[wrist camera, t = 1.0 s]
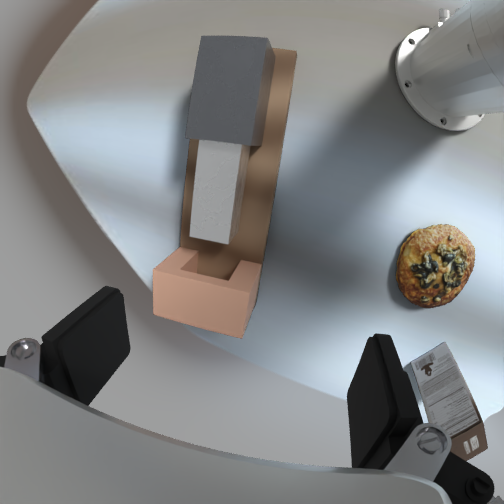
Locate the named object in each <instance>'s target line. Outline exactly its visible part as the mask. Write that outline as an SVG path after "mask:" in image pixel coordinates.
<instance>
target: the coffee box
mask: <svg viewBox="0 0 504 504" xmlns="http://www.w3.org/2000/svg"><path fill="white" fill-rule="evenodd" d="M411 365H412V368H413V371H414V374H415V377H416V380H417V384H418V387H419V390H420V393H421V397H422V400H423V403H424V407H425V411H426V414H427V418H428V422H429V423H432V424H436V425H439V426H441V427H442V428H444V429H445V430H446V431H447V432H448V434H449V435H450V438H451V443H452V446H451V449H450V451H451V452H452V453H454V454H455V455H457V456H458V457H460V458H462V459H463V460H465V461H467V460H469V459H471V458H473V457H474V456H476V455H477V454H479V453H481V452H483V451H485V450H486V449H487V448H488V446H487V440H486V435H485V429H484V424H483V421H482V418H481V416H480V414H479V411H478V409H477V406H476V404H475V402H474V399H473V397H472V395H471V393H470V390H469V388H468V386H467V384H466V382H465V380H464V377H463V375H462V373H461V371H460V369H459V367H458V365H457V363H456V361H455V359H454V357H453V355H452V353H451V351H450V349H449V348H448V346H447V344H446V342H444V343H442V344H440V345H439V346H437V347H436V348H434V349H432V350H431V351H429V352H427V353H426V354H424V355H422V356H421V357H419V358H417V359H415V360H414V361H412V362H411Z"/></svg>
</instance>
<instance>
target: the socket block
mask: <svg viewBox="0 0 504 504" xmlns="http://www.w3.org/2000/svg"><path fill="white" fill-rule="evenodd" d="M198 252H199V251H197V250H193V249H188V248H183V247H179V248H178V249H177V250H176V251H174V252H173V253H172V254H171V255H170V256H168V257H167V258H166V259H165V260H164V261H162V262H161V263H160V264H159V265H158V266H156V267H155V268H154V269H153V314H154V315H156V316H160V317H163V318H166V319H170V320H173V321H177V322H180V323H184V324H187V325H191V326H194V327H198V328H202V329H205V330H209V331H213V332H217V333H221V334H225V335H229V336H233V337H237V338H241V339H242V338H243V335H244V332H245V330H246V327H247V324H248V321H249V319H250V316H251V313H252V311H253V308H254V305H255V300H256V294H257V288H258V282H259V277H260V271H261V265H262V264H258V263H253V262H249V261H244V260H241V261H240V263H239V264H238V266H237V268H236V269H235V271H234V273H233V274H232V276H231V278H230V279H229V281H227V280H223V279H218V278H214V277H210V276H205V275H201V274H197V264H198Z"/></svg>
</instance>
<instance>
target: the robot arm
mask: <svg viewBox="0 0 504 504" xmlns="http://www.w3.org/2000/svg"><path fill="white" fill-rule="evenodd" d="M455 12H456V13H455V14H453V15H452V16H451V13H450V11H448V10H447V9H440V10H439V19H440V22H439V23H438V24H437V25H436V26H435V27H434V28H421V29H418V30H415V31H413V32H412V33H410V34H409V35H407V36H406V37H405V39H404V40H403V41H402V42H401V44H400V46H399V47H398V50H397V53H396V59H395V70H396V76H397V80H398V84H399V86H400V88H401V91H402V93H403V95H404V96H405V98H406V100H407V101H408V103H409V104H410V105H411V106H412V108H413V109H414V110H415V111H416V112H417V113H418V114H419V115H420V116H421V117H422V118H423V119H425V120H426V121H428V122H429V123H431V124H432V125H434V126H437V127H439V128H441V129H446V130H450V131H460V130H467V129H469V128H472V127H474V126H475V125H477V124H478V123H479V122H480V121H481V120H482V119H483V118H484V116H485V114H491V113H502V112H504V0H470V1H469V2H468V3H466V4H465V5H464V6H463V7H462V8H460V9H459V8H458V9H456V11H455ZM409 42H410V43H411V44H409ZM405 84H407V85H408V87H406V86H405ZM440 119H441V120H442V123H441V122H440ZM42 341H43V343H42V344H41V345H40V344H39V343H38V341H37V340H35V339H32V338H23V339H19V340H17V341H15V342H13V343H12V344H11V345H10V346H9V348H8V350H7V355H5V356H0V504H504V501H503V500H502V499H501V498H500V496H497V497H496V498H495V497H494V496H493V494H494V484H493V481H492V479H491V478H490V476H489V475H487V474H486V473H485V472H483V471H481V470H480V469H478V468H476V467H475V466H473V465H471V464H470V463H468V462H467V461H465V460H463V459H462V458H460V457H458V456H457V455H455V454H454V453H452V452H451V451H450V449H451V446H452V443H451V438H450V435H449V434H448V432H447V431H446V430H445V429H444V428H442V427H441V426H439V425H436V424H432V423H423V420H422V417H421V413H420V410H419V407H418V404H417V401H416V398H415V394H414V391H413V388H412V386H411V383H410V380H409V377H408V374H407V372H405V371H403V368H402V365H401V362H400V359H399V357H398V354H397V351H396V348H395V346H394V343H393V340H392V338H391V336H390V335H386V334H374V336H373V337H369V338H368V340H367V343H366V346H365V348H364V351H363V354H362V356H361V359H360V362H359V364H358V367H357V370H356V372H355V375H354V377H353V380H352V382H351V384H350V387H349V389H348V393H347V403H348V415H349V427H350V441H351V457H352V468H342V467H326V466H314V465H304V464H295V463H286V462H279V461H271V460H265V459H258V458H253V457H247V456H242V455H237V454H232V453H228V452H223V451H218V450H214V449H210V448H206V447H202V446H198V445H194V444H190V443H187V442H184V441H180V440H176V439H173V438H170V437H167V436H164V435H161V434H158V433H155V432H152V431H149V430H146V429H143V428H140V427H138V426H135V425H132V424H130V423H127V422H124V421H122V420H119V419H117V418H115V417H112V416H110V415H107V414H105V413H103V412H100V411H98V410H96V409H94V408H91V407H89V404H90V403H91V402H92V400H93V399H94V398H95V397H96V395H97V394H98V393H99V391H100V390H101V389H102V387H103V386H104V385H105V384H106V383H107V381H108V380H109V379H110V378H111V376H112V375H113V374H114V372H115V371H116V370H117V369H118V367H119V366H120V365H121V364H122V362H123V361H124V360H125V359H126V357H127V356H128V355H129V353H130V342H129V335H128V329H127V322H126V314H125V306H124V297H123V294H122V293H120V290H119V289H117V288H113V287H109V286H105V287H103V288H102V289H101V290H99V291H98V292H96V293H95V294H94V295H93V296H92V297H90V298H89V299H87V300H86V301H85V302H84V303H82V304H81V305H80V306H79V307H77V308H76V309H75V310H74V311H72V312H71V313H70V314H69V315H67V316H66V317H65V318H64V319H62V320H61V321H60V322H59V323H58V324H56V325H55V326H54V327H53V328H52V329H50V330H49V331H48V332H47V333H45V334H44V335H43V336H42Z"/></svg>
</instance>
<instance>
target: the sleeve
mask: <svg viewBox="0 0 504 504" xmlns="http://www.w3.org/2000/svg"><path fill="white" fill-rule="evenodd" d="M275 59H276V56H275V54H274V51H273V49H272V47H271V44H270V42H269V40H268V38H261V37H245V36H201V41H200V46H199V52H198V57H197V63H196V68H195V74H194V80H193V86H192V92H191V99H190V106H189V113H188V120H187V127H186V135H185V138H189V139H200V140H209V141H218V142H226V143H234V144H242V145H249V146H262V142H263V135H264V129H265V123H266V116H267V110H268V103H269V97H270V91H271V84H272V78H273V72H274V65H275Z"/></svg>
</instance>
